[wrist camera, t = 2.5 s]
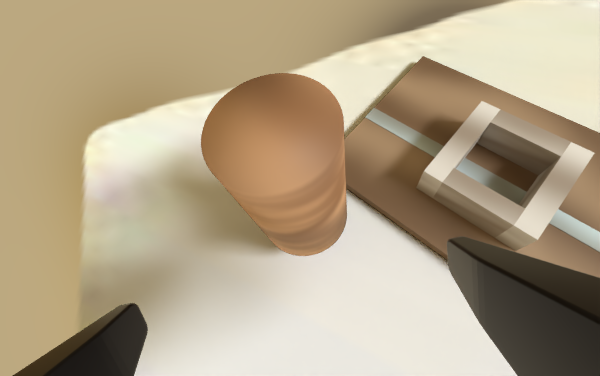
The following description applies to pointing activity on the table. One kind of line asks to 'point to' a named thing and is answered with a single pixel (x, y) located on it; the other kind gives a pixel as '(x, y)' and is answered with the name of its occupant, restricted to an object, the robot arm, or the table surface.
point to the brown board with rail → (479, 168)
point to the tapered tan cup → (282, 158)
